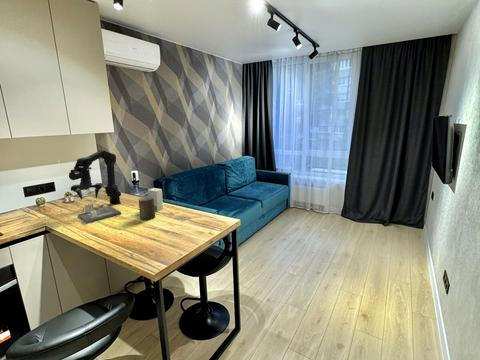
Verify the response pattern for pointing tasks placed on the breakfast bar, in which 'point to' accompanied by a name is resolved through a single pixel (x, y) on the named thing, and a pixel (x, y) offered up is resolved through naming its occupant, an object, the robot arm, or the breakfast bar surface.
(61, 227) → the breakfast bar surface
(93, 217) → the fader
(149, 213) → the pillar candle
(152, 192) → the skincare box
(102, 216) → the console
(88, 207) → the dial
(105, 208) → the fader
